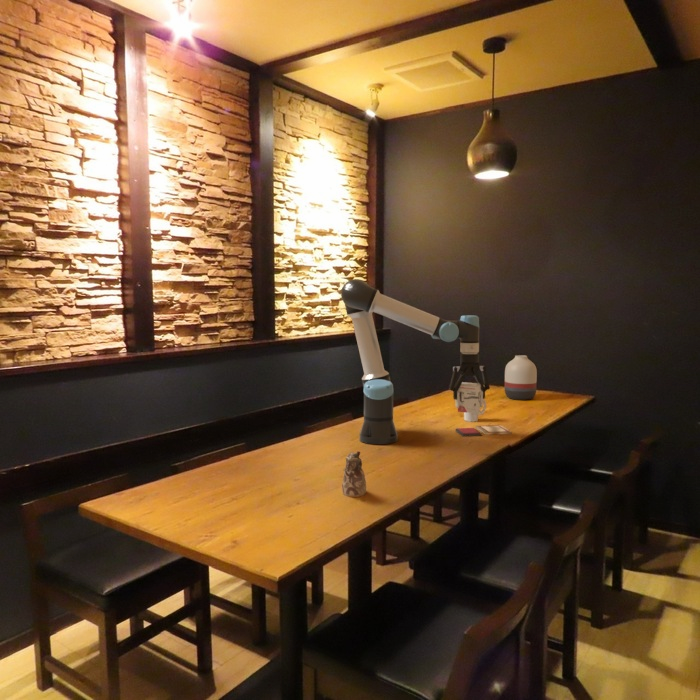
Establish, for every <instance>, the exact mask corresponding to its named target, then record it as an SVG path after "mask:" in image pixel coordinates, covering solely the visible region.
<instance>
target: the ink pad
mask: <svg viewBox="0 0 700 700" xmlns="http://www.w3.org/2000/svg"><path fill="white" fill-rule="evenodd" d="M454 430H455V432H456V433H458V435H460V436H462V437H482V436H483V435H482V433H483V432H481V431H480V430H479V431H478V429H477V428H476V429H475V428H474V427H461V428H460V427H459V428H458V427H457V428H455V429H454Z"/></svg>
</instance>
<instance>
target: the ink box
mask: <svg viewBox="0 0 700 700" xmlns="http://www.w3.org/2000/svg"><path fill="white" fill-rule="evenodd" d="M458 392H459V408H457V412H459V413H464V412H467V413H479V412H481V407H480V404H481V384H479V383H477V382H466V381H465V382H463V381H462V383H461V385H460V387H459V389H458Z"/></svg>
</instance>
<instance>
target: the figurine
mask: <svg viewBox="0 0 700 700" xmlns="http://www.w3.org/2000/svg"><path fill="white" fill-rule="evenodd" d="M360 454H361V451H359V450H357V451H356V453H355V452H350V453H349V454H348V455H347V456H346V457H345V468H343V472H344V473H343V480H342V483H341V484H342V485H341V486H342V488H341V489H342V495H343V496H346V497H349V498H350V497H352V498H353V497H354V498H357V497H362V496H364V495H365V494H367V480H366V475H365V472H364V470H363V468H362V466H363V463H362V458H360Z"/></svg>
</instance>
